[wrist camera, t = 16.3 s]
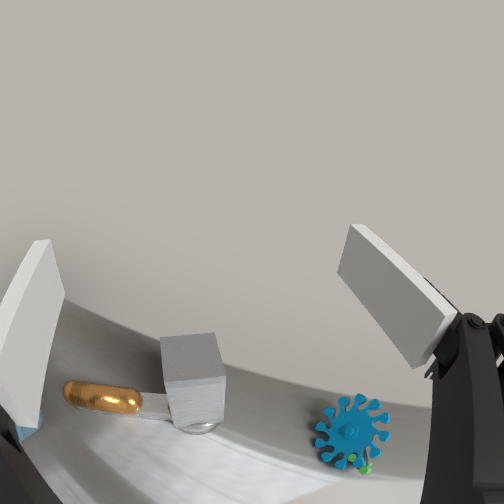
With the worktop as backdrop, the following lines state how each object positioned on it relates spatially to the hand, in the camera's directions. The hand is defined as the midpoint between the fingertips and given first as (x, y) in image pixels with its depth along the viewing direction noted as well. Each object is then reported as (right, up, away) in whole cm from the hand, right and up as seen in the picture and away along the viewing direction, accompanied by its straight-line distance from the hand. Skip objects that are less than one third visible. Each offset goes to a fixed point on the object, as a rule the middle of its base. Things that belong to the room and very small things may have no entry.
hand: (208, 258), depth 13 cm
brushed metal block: (-5, -19, +22) cm, 30 cm away
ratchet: (-13, -20, +22) cm, 33 cm away
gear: (+13, -25, +20) cm, 35 cm away
